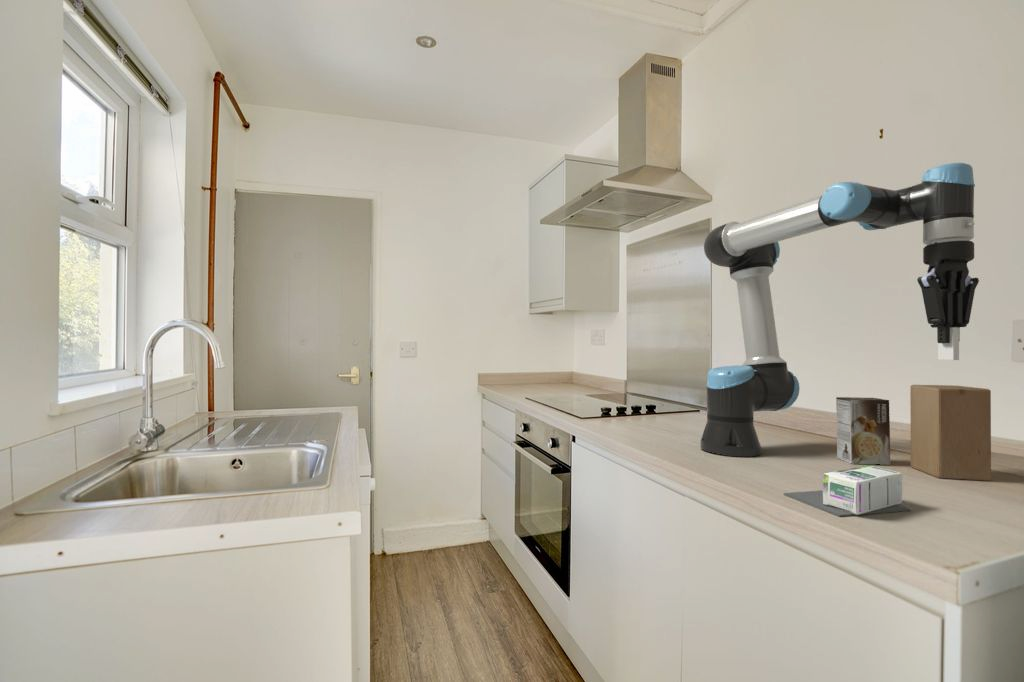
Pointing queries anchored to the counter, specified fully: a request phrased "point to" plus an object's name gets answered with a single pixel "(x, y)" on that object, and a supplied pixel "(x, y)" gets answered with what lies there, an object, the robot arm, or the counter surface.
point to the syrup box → (862, 489)
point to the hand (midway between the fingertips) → (948, 359)
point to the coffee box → (863, 430)
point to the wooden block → (951, 431)
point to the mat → (817, 501)
